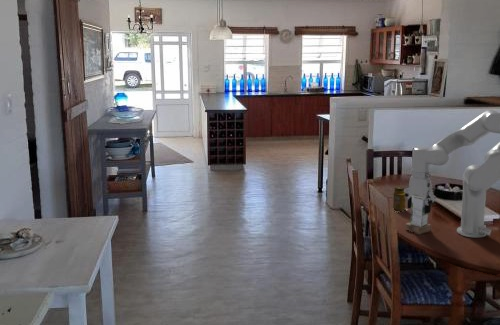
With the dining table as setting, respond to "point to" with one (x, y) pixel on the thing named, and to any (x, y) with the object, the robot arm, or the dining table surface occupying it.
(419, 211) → the syrup box
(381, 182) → the dining table surface
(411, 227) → the tan flat square box
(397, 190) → the condiment
